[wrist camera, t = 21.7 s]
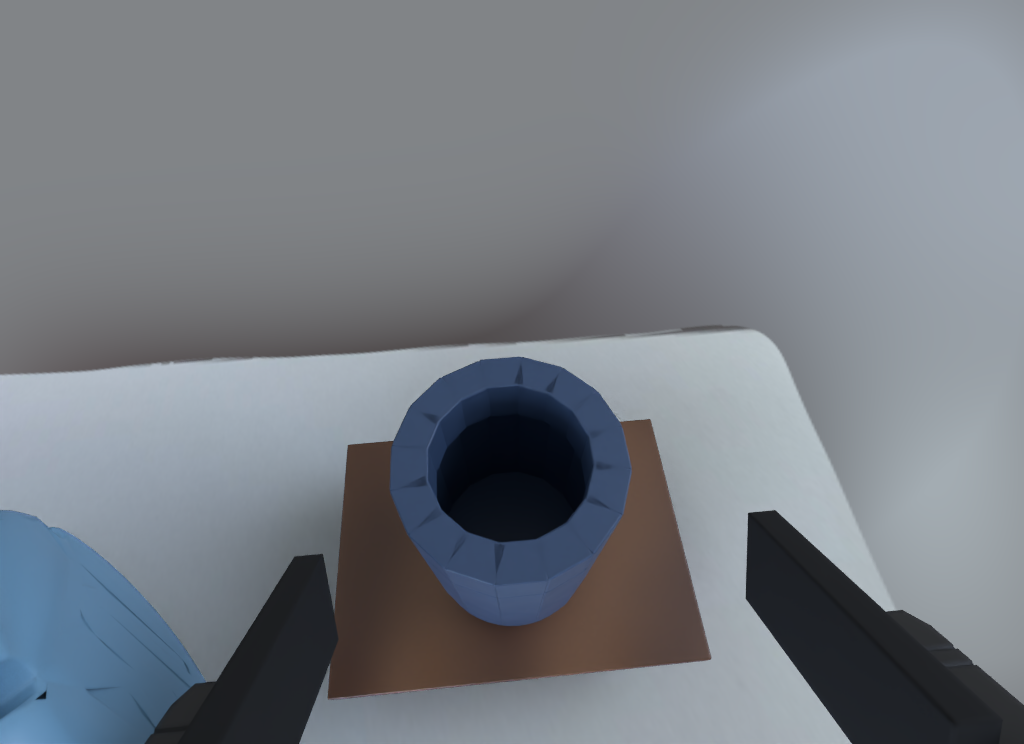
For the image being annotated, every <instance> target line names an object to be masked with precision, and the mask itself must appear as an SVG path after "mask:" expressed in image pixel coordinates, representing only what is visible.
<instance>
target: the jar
mask: <svg viewBox="0 0 1024 744" xmlns="http://www.w3.org/2000/svg"><path fill="white" fill-rule="evenodd" d="M631 469H632V467H631V462H630V458H629V453H628V449H627V444H626V440H625V435H624V431H623V428H622V425H621V423H620V422H619V421H618V419H617V418H616V416H615V415H614V413H613V412H612V411H611V409H610V408H609V406H608V405H607V404H606V402H605V401H604V399H603V398H602V396H601V395H600V394H599V392H597V391H596V390H595V389H594V388H592V387H591V386H589V385H588V384H586V383H585V382H583V381H582V380H580V379H579V378H577V377H576V376H574V375H573V374H572V373H570V372H569V371H567V370H566V369H564V368H562V367H559V366H555V365H551V364H547V363H544V362H540V361H536V360H532V359H528V358H524V357H522V358H521V357H511V358H498V359H485V360H480V362H479V361H477V362H475V363H473V364H470V365H468V366H466V367H464V368H461V369H459V370H457V371H454V372H452V373H450V374H448V375H445V376H443V377H442V378H439V379H438V380H437V381H436V382H435V383H434V384H433V385H432V386H431V387H430V388H429V389H428V390H426V391H425V392H424V393H423V394H422V395H421V396H420V397H419V398H418V399H417V400H416V401H415V402H414V403H413V404H412V405H411V406H410V408H409V409H408V411H407V413H406V416H405V418H404V420H403V422H402V424H401V426H400V428H399V431H398V433H397V435H396V437H395V439H394V441H393V443H392V447H391V461H390V494H391V496H392V499H393V501H394V504H395V506H396V508H397V511H398V513H399V516H400V518H401V521H402V523H403V525H404V528H405V530H406V533H407V535H408V536H409V538H410V539H411V540H412V542H413V543H414V545H415V546H416V548H417V549H418V551H419V552H420V554H421V555H422V557H423V558H424V559H425V561H426V562H427V564H428V565H429V567H430V568H431V570H432V571H433V573H434V574H435V576H436V577H437V578H438V580H439V581H440V583H441V584H442V586H443V587H444V589H445V590H446V591H447V593H448V594H449V595H450V596H451V597H452V598H453V599H454V600H455V601H456V602H457V603H458V604H459V605H460V606H461V607H462V608H464V609H465V610H466V611H467V612H468V613H469V614H471V615H473V616H475V617H477V618H479V619H481V620H484V621H486V622H489V623H493V624H496V625H503V626H521V625H527V624H531V623H534V622H538V621H540V620H542V619H544V618H546V617H548V616H550V615H552V614H553V613H555V612H556V611H558V610H559V609H560V608H561V607H563V606H564V605H565V604H567V602H568V601H569V599H570V598H571V597H572V595H573V594H574V593H575V591H576V590H577V588H578V587H579V585H580V584H581V583H582V581H583V580H584V578H585V577H586V575H587V573H588V572H589V570H590V569H591V567H592V565H593V564H594V562H595V560H596V559H597V557H598V556H599V554H600V552H601V551H602V549H603V547H604V546H605V544H606V542H607V541H608V539H609V538H610V536H611V534H612V533H613V531H614V529H615V528H616V526H617V524H618V523H619V521H620V520H621V517H622V515H623V514H624V509H625V504H626V499H627V494H628V489H629V484H630V479H631V474H632V470H631Z"/></svg>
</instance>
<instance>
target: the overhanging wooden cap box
mask: <svg viewBox="0 0 1024 744" xmlns="http://www.w3.org/2000/svg"><path fill="white" fill-rule="evenodd" d="M620 423H621V425H622V428H623V431H624V435H625V440H626V444H627V449H628V453H629V458H630V462H631V467H632V469H631V470H632V474H631V479H630V484H629V489H628V494H627V499H626V504H625V509H624V514H623V515H622V517H621V520H620V521H619V523H618V524H617V526H616V528H615V529H614V531H613V533H612V534H611V536H610V538H609V539H608V541H607V542H606V544H605V546H604V547H603V549H602V551H601V552H600V554H599V556H598V557H597V559H596V560H595V562H594V564H593V565H592V567H591V569H590V570H589V572H588V573H587V575H586V577H585V578H584V580H583V581H582V583H581V584H580V585H579V587H578V588H577V590H576V591H575V593H574V594H573V595H572V597H571V598H570V599H569V601H568V602H567V604H565V605H564V606H563V607H561V608H560V609H559V610H558V611H556V612H555V613H553V614H552V615H550V616H548V617H546V618H544V619H542V620H540V621H538V622H534V623H531V624H527V625H521V626H503V625H496V624H493V623H489V622H486V621H484V620H481V619H479V618H477V617H475V616H473V615H471V614H469V613H468V612H467V611H466V610H465V609H464V608H462V607H461V606H460V605H459V604H458V603H457V602H456V601H455V600H454V599H453V598H452V597H451V596H450V595H449V594H448V593H447V591H446V590H445V589H444V587H443V586H442V584H441V583H440V581H439V580H438V578H437V577H436V576H435V574H434V573H433V571H432V570H431V568H430V567H429V565H428V564H427V562H426V561H425V559H424V558H423V557H422V555H421V554H420V552H419V551H418V549H417V548H416V546H415V545H414V543H413V542H412V540H411V539H410V538H409V536H408V535H407V533H406V530H405V528H404V525H403V523H402V521H401V518H400V516H399V513H398V511H397V508H396V506H395V504H394V501H393V499H392V496H391V494H390V461H391V447H392V443H393V441H388V442H376V443H364V444H352V445H348V450H347V462H346V475H345V487H344V500H343V512H342V525H341V538H340V550H339V563H338V575H337V588H336V600H335V613H334V617H335V622H336V628H337V633H338V638H339V640H338V642H337V645H336V648H335V650H334V653H333V656H332V658H331V663H330V675H329V688H328V700H338V699H347V698H357V697H366V696H376V695H385V694H395V693H404V692H414V691H423V690H433V689H442V688H451V687H461V686H470V685H480V684H489V683H499V682H508V681H518V680H527V679H537V678H546V677H556V676H565V675H575V674H584V673H594V672H603V671H613V670H622V669H631V668H641V667H650V666H660V665H669V664H679V663H688V662H698V661H706V660H710V659H711V655H710V651H709V647H708V643H707V639H706V635H705V631H704V627H703V623H702V620H701V616H700V612H699V608H698V604H697V600H696V596H695V592H694V588H693V584H692V580H691V576H690V572H689V569H688V565H687V561H686V557H685V553H684V549H683V545H682V541H681V537H680V533H679V529H678V525H677V522H676V518H675V514H674V510H673V506H672V502H671V498H670V494H669V490H668V486H667V482H666V478H665V475H664V471H663V467H662V463H661V459H660V455H659V451H658V447H657V443H656V439H655V435H654V431H653V428H652V424H651V420H650V419H647V420H635V421H624V422H620Z"/></svg>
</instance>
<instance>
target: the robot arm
mask: <svg viewBox="0 0 1024 744" xmlns="http://www.w3.org/2000/svg"><path fill="white" fill-rule="evenodd" d="M746 599H747V601H748V602H749V604H750V605H751V606H752V608H753V609H754V610H755V612H756V613H757V615H758V616H759V617H760V619H761V620H762V621H763V623H764V624H765V625H766V627H767V628H768V630H769V631H770V632H771V634H772V635H773V636H774V638H775V639H776V640H777V642H778V643H779V645H780V646H781V647H782V649H783V650H784V651H785V653H786V654H787V655H788V657H789V658H790V660H791V661H792V662H793V664H794V665H795V666H796V668H797V669H798V671H799V672H800V673H801V675H802V676H803V677H804V679H805V680H806V681H807V683H808V684H809V686H810V687H811V688H812V690H813V691H814V692H815V694H816V695H817V696H818V698H819V699H820V701H821V702H822V703H823V705H824V706H825V707H826V709H827V710H828V711H829V713H830V714H831V716H832V717H833V718H834V720H835V721H836V722H837V724H838V725H839V726H840V728H841V729H842V731H843V732H844V733H845V735H846V736H847V737H848V739H849V740H850V742H851V743H852V744H1024V705H1023V704H1022V703H1021V702H1019V701H1018V700H1017V699H1016V698H1015V697H1013V696H1012V695H1011V694H1010V693H1009V692H1008V691H1007V690H1005V689H1004V688H1003V687H1002V686H1001V685H999V684H998V683H997V682H996V681H995V680H994V679H992V678H991V677H990V676H989V675H988V674H987V673H985V672H984V671H983V670H982V669H981V668H980V667H978V666H977V665H973V663H972V661H971V660H970V659H969V658H968V657H967V656H966V655H964V654H963V653H962V652H961V651H960V650H959V649H955V648H954V647H953V644H952V643H950V642H949V641H948V640H947V639H946V638H944V637H943V636H942V635H941V634H940V633H938V632H937V631H936V630H935V629H934V628H933V627H932V626H931V625H928V624H927V623H925V622H923V621H921V620H919V619H918V618H916V617H914V616H912V615H910V614H909V613H907V612H905V611H903V610H898V611H888V612H885V611H884V610H883V609H882V608H881V607H880V606H879V605H878V604H877V603H876V602H875V601H874V600H872V599H871V598H870V597H869V596H868V595H867V594H866V593H865V592H864V591H863V590H862V589H860V588H859V587H858V586H857V585H856V584H855V583H854V582H853V581H852V580H851V579H850V578H848V577H847V576H846V575H845V574H844V573H843V572H842V571H841V570H840V569H839V568H838V567H836V566H835V565H834V564H833V563H832V562H831V561H830V560H829V559H828V558H827V557H826V556H824V555H823V554H822V553H821V552H820V551H819V550H818V549H817V548H816V547H815V546H814V545H812V544H811V543H810V542H809V541H808V540H807V539H806V538H805V537H804V536H803V535H802V534H801V533H799V532H798V531H797V530H796V529H795V528H794V527H793V526H792V525H791V524H790V523H789V522H787V521H786V520H785V519H784V518H783V517H782V516H781V515H780V514H779V513H778V512H777V511H775V510H773V511H763V512H752V513H748V538H747V572H746ZM338 640H339V638H338V633H337V628H336V622H335V617H334V612H333V606H332V601H331V595H330V590H329V585H328V579H327V574H326V569H325V563H324V558H323V554H317V555H306V556H296V557H294V558H293V560H292V562H291V563H290V565H289V566H288V568H287V569H286V571H285V573H284V574H283V576H282V577H281V579H280V581H279V582H278V584H277V585H276V587H275V589H274V590H273V592H272V593H271V595H270V597H269V598H268V600H267V601H266V603H265V605H264V606H263V608H262V609H261V611H260V613H259V614H258V616H257V617H256V619H255V621H254V622H253V624H252V625H251V627H250V629H249V630H248V632H247V633H246V635H245V637H244V638H243V640H242V641H241V643H240V645H239V646H238V648H237V649H236V651H235V652H234V654H233V656H232V657H231V659H230V660H229V662H228V664H227V665H226V667H225V668H224V670H223V672H222V673H221V675H220V676H219V678H218V680H217V681H215V682H206V681H205V679H204V677H203V676H202V674H201V672H200V671H199V669H198V668H197V666H196V665H195V663H194V661H193V660H192V658H191V657H190V655H189V654H188V652H187V651H186V649H185V648H184V646H183V645H182V644H181V642H180V641H179V639H178V638H177V637H176V635H175V634H174V633H173V631H172V630H171V629H170V627H169V626H168V625H167V624H166V622H165V621H164V620H163V619H162V617H161V616H160V615H159V614H158V613H157V611H156V610H155V609H154V608H153V607H152V606H151V604H150V603H149V602H148V601H147V600H146V599H145V598H144V597H143V596H142V595H141V593H140V592H139V591H138V590H137V589H136V588H135V587H134V586H133V585H132V584H131V583H130V582H129V581H128V580H127V579H126V578H125V577H124V576H123V575H122V574H121V573H120V572H119V571H117V570H116V569H115V568H114V567H113V566H112V565H111V564H110V563H109V562H107V561H106V560H105V559H104V558H103V557H102V556H100V555H99V554H98V553H97V552H96V551H94V550H93V549H92V548H90V547H89V546H88V545H86V544H85V543H83V542H82V541H81V540H79V539H78V538H76V537H75V536H73V535H72V534H70V533H68V532H66V531H64V530H63V529H61V528H55V527H51V528H49V527H47V526H46V525H45V524H44V523H43V522H42V521H41V520H40V519H38V518H37V517H35V516H32V515H29V514H25V513H21V512H16V511H11V510H0V744H299V742H300V739H301V737H302V734H303V731H304V729H305V726H306V724H307V721H308V718H309V716H310V713H311V710H312V708H313V705H314V703H315V700H316V697H317V695H318V692H319V690H320V687H321V684H322V682H323V679H324V676H325V674H326V671H327V669H328V666H329V663H330V661H331V658H332V656H333V653H334V650H335V648H336V645H337V642H338Z"/></svg>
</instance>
